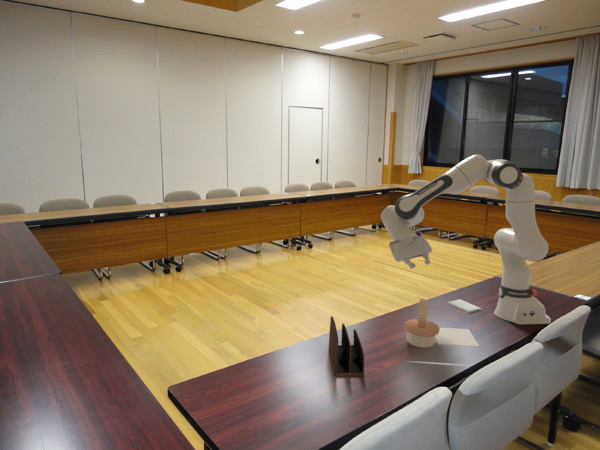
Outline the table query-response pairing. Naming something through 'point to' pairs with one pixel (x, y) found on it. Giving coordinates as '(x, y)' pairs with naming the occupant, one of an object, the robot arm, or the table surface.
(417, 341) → the bowl
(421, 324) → the salmon dome
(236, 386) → the table surface
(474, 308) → the hard drive
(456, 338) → the mat
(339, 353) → the letter holder
